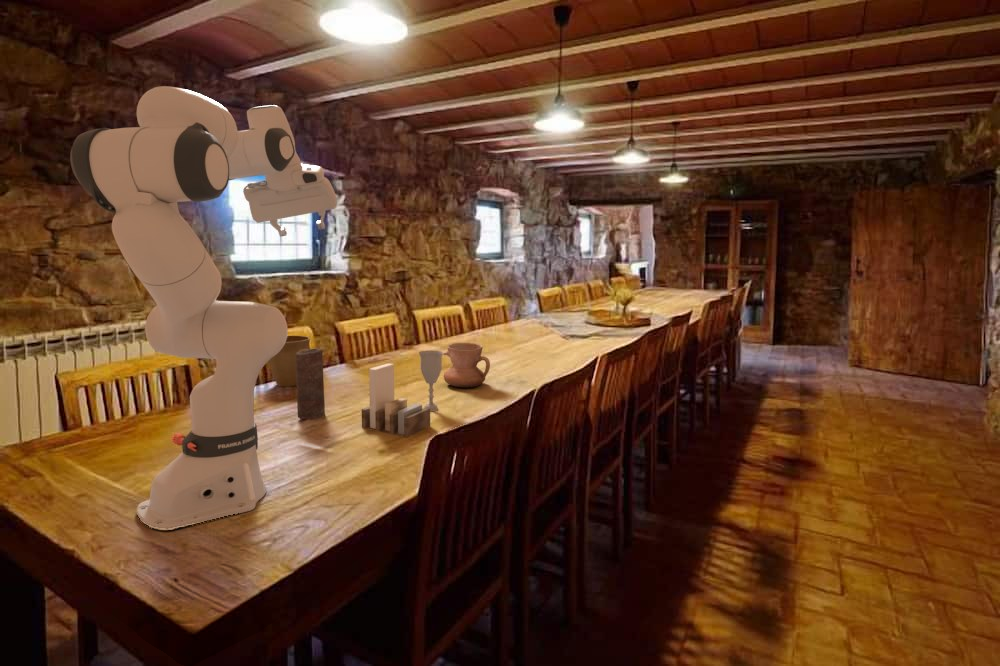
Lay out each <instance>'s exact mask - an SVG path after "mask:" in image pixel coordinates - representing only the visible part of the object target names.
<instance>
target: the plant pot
mask: <svg viewBox="0 0 1000 666" xmlns="http://www.w3.org/2000/svg"><path fill="white" fill-rule="evenodd" d="M310 340H311V338H310V337H309V336H306V335H305V336H304V335H287V339H286V342H285V344H284V346H283V348H282V349H281V350H280V352H279V353H278V354H276V355H275V356H274V357H272V358H271V359H270V360H269V361H268V362H267V364H268V365H269V369H270V371H271V374H272V377H273V379H274V381H275V383H276V385H277V386H278V387H284V388H286V387H294V386H295V385H296V386H297V379H296V353H297V352H299V351H300V350H302V349H310Z"/></svg>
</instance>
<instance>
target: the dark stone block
mask: <svg viewBox="0 0 1000 666" xmlns="http://www.w3.org/2000/svg"><path fill="white" fill-rule="evenodd" d="M323 357H324V356H323V349H322V348H311V349H310V348H309V349H302V350H300V351H299V352H297V353H296V379H297V385H296V406H297V407H296V409H297V418H298V419H300V420H316V419H317V420H318V419H320V418H321V419H322V418H324V417H326V411H325V410H326V409H325V408H326V407H325V405H326V404H325V385H324V363H323V362H324V361H323V360H324V359H323Z"/></svg>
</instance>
